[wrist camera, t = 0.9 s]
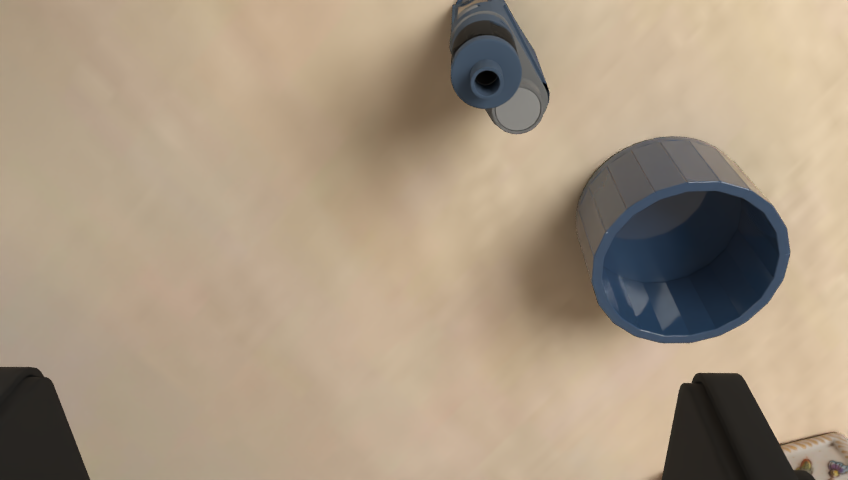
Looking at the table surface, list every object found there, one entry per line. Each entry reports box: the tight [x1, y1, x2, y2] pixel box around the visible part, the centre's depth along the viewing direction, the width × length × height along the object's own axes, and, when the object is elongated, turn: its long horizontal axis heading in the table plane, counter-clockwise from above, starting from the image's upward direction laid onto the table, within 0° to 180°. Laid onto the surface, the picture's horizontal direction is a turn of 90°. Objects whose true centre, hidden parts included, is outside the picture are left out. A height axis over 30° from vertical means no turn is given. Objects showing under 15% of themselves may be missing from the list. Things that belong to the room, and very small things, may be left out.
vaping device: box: [450, 0, 549, 134], centre depth 27 cm, size 3×5×12 cm, turn 33°
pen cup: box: [576, 137, 790, 343], centre depth 34 cm, size 9×9×6 cm
